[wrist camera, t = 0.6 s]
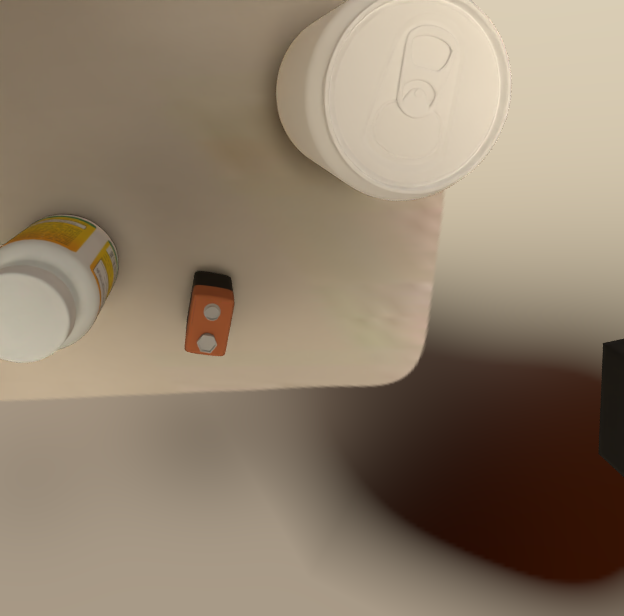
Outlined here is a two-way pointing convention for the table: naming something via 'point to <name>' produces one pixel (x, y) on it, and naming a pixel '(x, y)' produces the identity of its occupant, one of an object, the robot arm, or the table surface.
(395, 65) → the beverage can
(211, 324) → the battery
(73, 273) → the supplement bottle
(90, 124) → the table surface
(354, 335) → the table surface
